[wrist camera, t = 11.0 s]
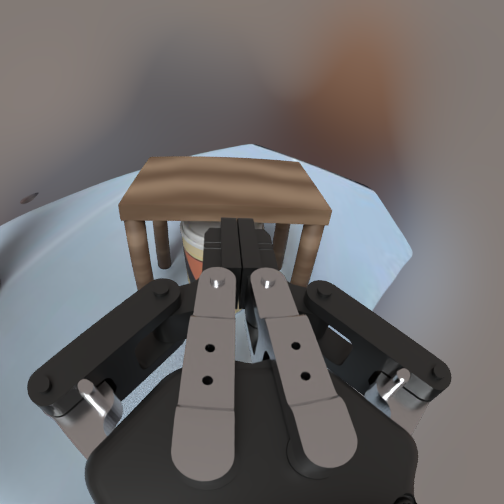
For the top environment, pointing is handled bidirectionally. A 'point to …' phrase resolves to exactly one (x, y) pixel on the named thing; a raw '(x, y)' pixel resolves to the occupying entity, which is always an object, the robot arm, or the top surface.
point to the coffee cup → (198, 245)
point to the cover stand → (223, 205)
